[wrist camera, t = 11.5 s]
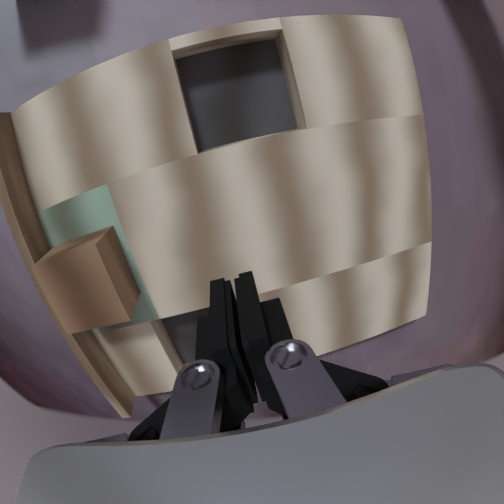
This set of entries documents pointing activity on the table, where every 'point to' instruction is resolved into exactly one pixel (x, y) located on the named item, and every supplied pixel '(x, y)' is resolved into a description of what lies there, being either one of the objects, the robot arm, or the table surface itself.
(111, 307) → the walnut block
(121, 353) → the box
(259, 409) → the table surface
